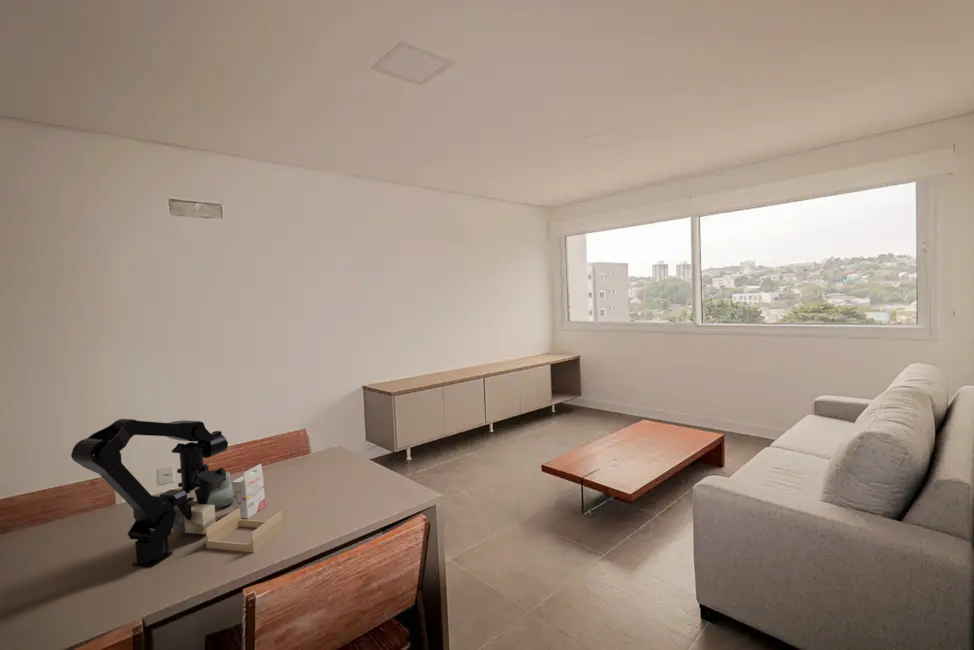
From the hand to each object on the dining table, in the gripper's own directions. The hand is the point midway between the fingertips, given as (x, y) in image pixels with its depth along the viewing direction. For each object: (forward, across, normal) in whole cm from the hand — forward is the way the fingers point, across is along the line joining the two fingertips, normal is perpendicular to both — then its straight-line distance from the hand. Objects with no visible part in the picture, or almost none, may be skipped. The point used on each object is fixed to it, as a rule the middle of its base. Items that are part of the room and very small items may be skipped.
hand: (195, 515), depth 135 cm
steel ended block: (+4, 0, 0) cm, 4 cm away
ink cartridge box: (+6, +15, -6) cm, 17 cm away
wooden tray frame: (+5, 0, -16) cm, 17 cm away
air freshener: (+6, +19, +8) cm, 21 cm away
